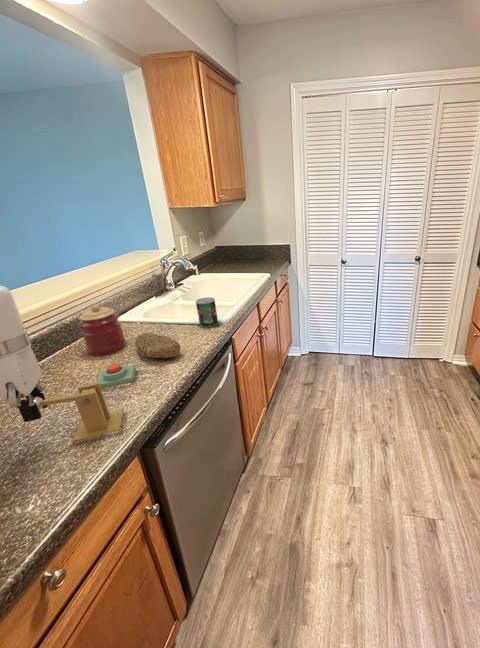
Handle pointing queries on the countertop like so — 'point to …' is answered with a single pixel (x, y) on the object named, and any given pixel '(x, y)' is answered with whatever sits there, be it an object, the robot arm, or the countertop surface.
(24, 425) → the countertop surface
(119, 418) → the bracket
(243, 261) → the countertop surface
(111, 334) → the kitchen canister
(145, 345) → the speckled river stone
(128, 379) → the switch block
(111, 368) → the button
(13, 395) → the robot arm
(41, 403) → the tap lever
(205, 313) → the canned tomato
